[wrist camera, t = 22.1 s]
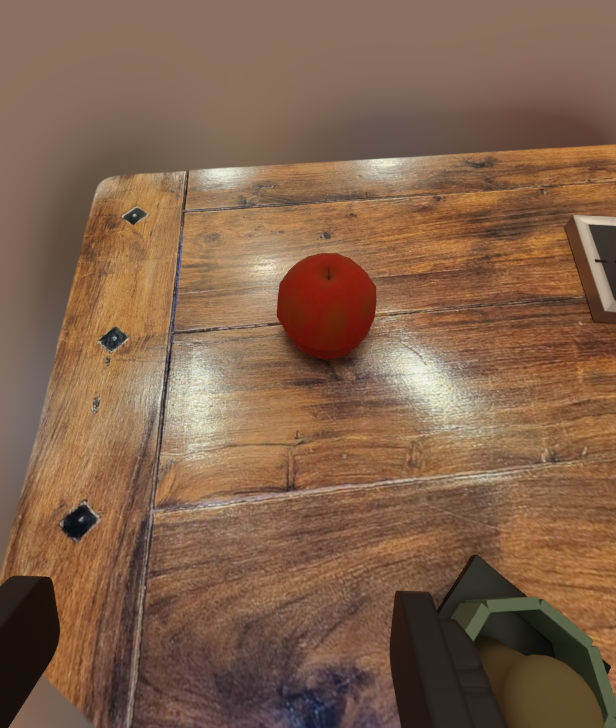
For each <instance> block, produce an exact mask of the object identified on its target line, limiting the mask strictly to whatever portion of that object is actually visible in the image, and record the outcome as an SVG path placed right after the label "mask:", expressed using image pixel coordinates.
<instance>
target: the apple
mask: <svg viewBox="0 0 616 728" xmlns="http://www.w3.org/2000/svg"><path fill="white" fill-rule="evenodd" d="M375 309H376V286H375V285H374V283H373V282H372V280H371V279H370V277H369V276H368V274H367V273H366V272H365V271H364V270H363V269H362V268H361V267H360V266H359V265H358V264H356V263H355V262H354V261H352V260H351V259H350V258H347V257H345V256H342V255H339V254H335V253H321V254H317V255H312V256H308V257H307V258H305V259H303V260H302V261H300V262H298V263H297V264H296V265H294V266H293V267H292V268H291V269H290V270H289V271H288V273H287V274H286V276H285V277H284V278H283V280H282V281H281V283H280V285H279V293H278V305H277V317H278V319H279V321H280V322H281V324H282V326H283V327H284V329H285V331H286V332H287V334H288V335H289V337H290V339H291V340H292V342H293V343H294V344H295V345H296V346H297V347H298V348H299V349H300V350H301V351H302V352H304V353H307V354H309V355H311V356H313V357H316V358H323V359H335V358H338V357H342V356H345V355H347V354H348V353H350V352H351V351H352V350H353V349H355V348H356V347H357V346H358V345H359V344H360V342H361V341H362V340H363V338H364V337H365V336H366V335H367V333H368V331H369V329H370V327H371V325H372V322H373V320H374V317H375Z"/></svg>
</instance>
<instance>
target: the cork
mask: <svg viewBox="0 0 616 728" xmlns="http://www.w3.org/2000/svg"><path fill="white" fill-rule="evenodd" d="M474 644H475V646H476V649H477V651H478V654H479V656H480V659H481V661H482V664H483V669H484V671H486V674H487V676H488V679H489V681H490V684H491V686H492V692H493V693H495V696H496V698H497V701H498V703H499V706H500V708H501V711H502V713H503V716H504V718H505V721H506V723H507V726H508V728H604V722H603V717H602V712H601V708H600V706H599V704H598V702H597V699H596V697H595V695H594V693H593V691H592V690H591V688H590V687H589V686H588V684H587V683H586V682H585V680H584V679H583V678H582V677H581V676H580V675H579V674H578V673H576V672H575V671H574V670H573V669H572V668H571V667H569V666H568V665H567V664H566V663H564V662H562V661H559V660H557V659H555V658H553V657H550V656H544V655H534V654H532V655H529V656H525V655H523V654H521V653H520V652H518V651H516V650H515V649H513V648H511V647H510V646H508V645H506V644H505V643H503V642H501V641H499V640H497V639H494V638H492V637H488V636H477V637H476V638H475V640H474Z"/></svg>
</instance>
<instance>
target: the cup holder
mask: <svg viewBox="0 0 616 728" xmlns="http://www.w3.org/2000/svg"><path fill="white" fill-rule="evenodd" d="M437 613H438V616H439V618H441V619H456V620H457V622H458V623H459V624H460V625H461V626H462V628H463V629H464V630H465V631H466V632H467V634H468V635H469V636H470V637H471V638H472V640H473V641H474V640H475V638H476V637H477V636H488V637H492V638H494V639H497V640H499V641H501V642H503V643H505V644H506V645H508V646H510V647H511V648H513V649H515V650H516V651H518V652H520V653H521V654H523V655H525V656H529V655H532V654H534V655H544V656H550V657H553V658H555V659H557V660H559V661H562V662H564V663H566V664H567V665H568V666H569V667H571V668H572V669H573V670H574V671H575V672H576V673H578V674H579V675H580V676H581V677H582V678H583V679H584V680H585V682H586V683H587V684H588V686H589V687H590V688H591V690H592V691H593V693H594V695H595V697H596V699H597V702H598V704H599V706H600V708H601V712H602V717H603V722H604V728H616V719H615V718H614V717H616V700H615V697H614V694H613V691H612V688H611V685H610V682H609V679H608V676H607V675H608V673H609V670H610V668H611V666H610V665H609V664H608V663H606V662H605V661H604V660H603V659H602V658H601V654H600V651H599V648H598V647H597V646H592V645H591V644H592V642H593V640H592V639H591V638H590V637H589V636H588V635H586V634H585V633H584V632H583V631H582V630H580V629H579V628H578V627H577V626H576V625H574V624H573V623H572V622H571V621H569V620H568V619H567V618H566V617H565V616H563V615H562V614H561V613H560V612H558V611H557V610H556V609H555V608H554V607H552V606H551V605H550V604H549V603H548V602H546V601H545V600H544V599H538V597H527V596H526V595H525V594H523V593H522V592H521V591H520V590H519V589H517V588H516V587H515V586H514V585H513V584H511V583H510V582H509V581H508V580H506V579H505V578H504V577H503V576H502V575H500V574H499V573H498V572H497V571H496V570H494V569H493V568H492V567H491V566H490V565H488V564H487V563H486V562H485V561H484V560H482V559H481V558H480V557H479V556H478V555H473V556H472V557H471V559H470V560H469V562H468V563H467V565H466V566H465V568H464V569H463V571H462V573H461V574H460V576H459V577H458V579H457V580H456V582H455V584H454V585H453V587H452V588H451V590H450V591H449V593H448V594H447V596H446V598H445V599H444V601H443V602H442V604H441V605H440V607H439V608H438V610H437Z"/></svg>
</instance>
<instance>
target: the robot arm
mask: <svg viewBox="0 0 616 728" xmlns="http://www.w3.org/2000/svg"><path fill="white" fill-rule="evenodd" d="M59 636H60V625H59V618H58V612H57V606H56V600H55V594H54V587H53V582H52V580H51V579H50V578H49V577H42V576H12V577H10V578H9V579H8V580H7V581H6V582H5V583H4V584H3V585H2V586H1V587H0V728H8V727H9V726H10V724H11V723H12V721H13V720H14V718H15V716H16V715H17V713H18V712H19V710H20V708H21V707H22V705H23V704H24V702H25V700H26V699H27V697H28V696H29V694H30V693H31V691H32V690H33V688H34V686H35V685H36V683H37V681H38V680H39V678H40V677H41V675H42V674H43V672H44V671H45V669H46V667H47V666H48V664H49V663H50V661H51V659H52V657H53V655H54V653H55V651H56V648H57V645H58V641H59ZM390 664H391V673H392V679H393V684H394V690H395V695H396V701H397V706H398V712H399V717H400V723H401V728H508V726H507V723H506V721H505V718H504V716H503V713H502V711H501V708H500V706H499V703H498V701H497V698H496V696H495V693H493V692H492V686H491V684H490V681H489V679H488V676H487V674H486V671H484V669H483V664H482V661H481V659H480V656H479V654H478V651H477V649H476V646H475V644H474V641H473V640H472V638H471V637H470V636H469V635H468V634H467V632H466V631H465V630H464V629H463V628H462V626H461V625H460V624H459V623H458V622H457V620H456V619H441V618H439V616H438V613H437V610H436V608H435V605H434V602H433V599H432V596H431V594H430V593H429V592H419V591H396V593H395V599H394V608H393V617H392V627H391V636H390Z"/></svg>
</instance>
